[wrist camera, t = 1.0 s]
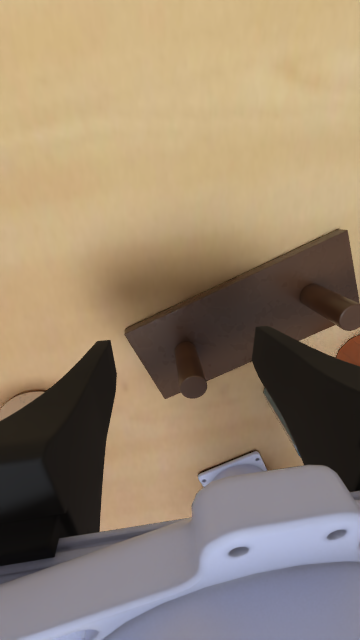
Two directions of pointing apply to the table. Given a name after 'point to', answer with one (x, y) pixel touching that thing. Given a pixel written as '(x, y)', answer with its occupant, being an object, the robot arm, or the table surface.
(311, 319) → the cup stand
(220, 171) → the table surface
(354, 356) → the terracotta cup
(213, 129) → the table surface
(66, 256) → the table surface
